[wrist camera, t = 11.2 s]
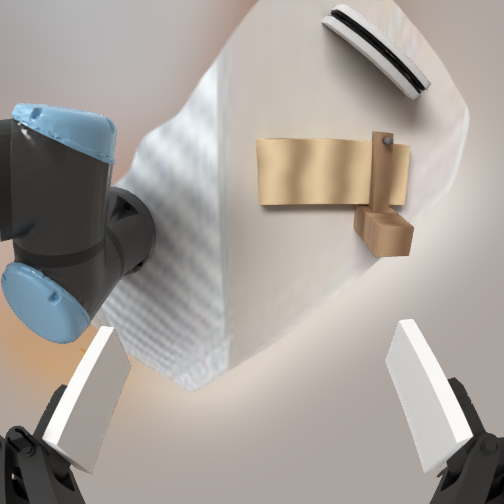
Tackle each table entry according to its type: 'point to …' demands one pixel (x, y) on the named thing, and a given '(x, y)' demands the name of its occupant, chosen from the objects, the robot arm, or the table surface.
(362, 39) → the grey curved slab
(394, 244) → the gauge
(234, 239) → the table surface
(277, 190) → the board
